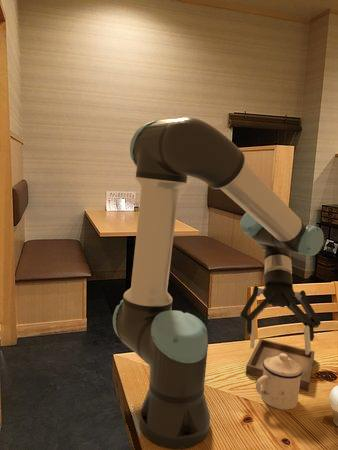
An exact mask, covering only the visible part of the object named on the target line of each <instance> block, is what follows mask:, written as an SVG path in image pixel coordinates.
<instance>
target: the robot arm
mask: <svg viewBox="0 0 338 450" xmlns="http://www.w3.org/2000/svg"><path fill="white" fill-rule="evenodd" d="M129 155H130V158H131V160H132V161H133V163H134V165H135V166H136V168H135V169H136V170H135V179H136V180H137V182H138V183H139V185H140V196H139V197H140V199H139V206H138V214H137V215H138V216H137V226H136V235H135V236H136V237H135V246H134V255H133V262H132V263H133V264H132V265H133V266H132V272H131V273H132V274H131V284H130V285H131V286H130V288H129V289H127V290H126V291H125V292H124V294H123V296H122V299H121V300H120V302H119V304H118V305H116V307H115V309H114V312H113V316H112V326H113V327H112V328H113V329H114V332H115V334H116V336H117V337H118V338H119V340H120V341H121V342H122V344H124V345H125V346H126V347H127V348H129V349H130V350H131V351H132V352H134V353H135V354H136V355H137V356H138V357H139V358H140V359H141V360H143V362H145V364H147V365H148V367H149V383H148V384H149V385H148V390H147V393H146V395H145V398H144V400H143V403H142V405H141V408H140V410H139V411H140V412H139V427H140V430H141V431H140V432H142V434H143V435H144V436H145V438H147V439H148V440H149V441H150V442H152V443H153V444H156V445H158V446H160V447H163V448H168V449H187V448H191V447H193V446H196V445H198V444H200V443H201V442H203V440H204V439H206V438H207V436H208V434H209V433H210V425H211V413H210V410H209V407H208V404H207V400H206V395H205V382H206V372H207V371H206V370H207V369H206V368H207V360H208V359H207V358H208V350H209V349H208V348H209V342H208V330H207V328H206V324H205V323H203V321H202V320H201V319H200V318H199V317H197V316H196V315H194V314H191V313H190V312H183V311H182V310H172V307H173V296H171V294H170V293H169V292H168V286H169V278H170V270H171V260H172V253H173V251H172V250H173V243H174V236H175V235H174V234H175V226H176V219H177V210H178V201H179V193H180V190H182V188H184V187H185V186H186V185H187V182H188V176H189V177H193V178H195V179H197V180H200V181H202V182H204V183H206V185H207V186H208V187H210V188H211V189H214V190H220V191H222V193H224V194H225V195H226V196H228V198H229V199H231V200H232V201H233V202H234V203H235V204H236V205H238V206H239V207H240V208H241V209H243V211H244V212H245V213H244V214H243V216H242V217H241V219H240V222H239V226H240V227H239V228H240V229H241V231H242V232H243V233H245V236H246V237H248V238H249V239H250V240H251V241H253V242H254V243H255V244H256V245H257V246H258V247H259V248H260V249H262V251H263V252H264V254H263V255H264V288H259V287H258V286H257V285H255V286H254V287H253V288H252V289H253V290H252V294H251V295H250V297H249V299H248V300H247V302H246V304H245V306H244V307H243V309H242V311H241V312H240V315H239V319H240V320H242V321H245V322H246V330H245V331H246V334H247V335H250V343H249V344H250V349H255V348H254V347H255V345H256V344H255V341H256V340H255V334H256V333H255V332H256V331H255V330H256V320H255V319H256V317H258V316H259V315H260V314H261V313H262V312H263V311H264V310H265V309H266V308H267V307H269V305H271V306H272V307H281V308H285V307H286V308H287V309H288V310H290V311H291V312H292V313H293V314H294V315H295V316H296V317H297V319H298V320H299V321H300V322H301V323H302V324H303V326H304V328H303V334H304V335H303V336H304V338H303V339H304V349H305V354H306V355H309V354H310V352H311V351H312V347H311V342H313V341H314V338H315V334H314V332H315V329H318V328H319V326H320V325H321V324H322V323H321V320H320V318H319V317H318V316H317V313H316V312H315V310H314V309H313V307H312V305H311V304H310V302H309V300H308V299H307V294H306V291H305V290H301V291H297V292H296V291H294V287H293V284H294V283H293V275H292V274H293V267H292V266H293V265H292V253H295V254H298V255H304V256H309V257H311V256H315V255H317V254H318V253H319V252H320V251H321V249H322V247H323V246H324V241H325V240H324V239H325V237H324V232H323V229H321V227H318V226H316V225H313V224H307V223H305V222H304V221H303V220H302V219H301V218H300V217H299V216H298V215H297V214H296V213H295V212H294V211H293V210H292V209H291V207H289V206H288V205H287V204H286V203H285V202H284V200H282V199H281V197H279V195H277V194H276V193H275V192H274V191H273V189H272V188H270V187H269V186H268V185H267V183H266V182H264V180H263V178H261V177H260V175H258V174H257V173H256V172H255V170H253V169H252V168H251V167H250V166H249V164H247V163H246V156H245V154H244V153H243V151H241V149H240V148H239V147H238V146H237V145H236V144H235V143H234V142H233V141H231V139H229V138H228V137H227V135H225V134H224V133H222V132H221V131H219V130H218V129H217V128H215V127H214V126H213V125H211V124H209V123H207V122H206V121H204V120H202V119H198V118H194V117H181V118H169V119H156V120H153V121H150V122H146V123H144V124H142V125H141V126H140V127H139V128H137V130H136V131H135V132H134V134H133V136H132V137H131V140H130V145H129ZM260 295H263V297H264V299H263V301H262V302H261V303H259V305H258V306H256V308H254V309H253V310H252V311H251V312H250V313H249V311H250V310H251V308H252V307H253V305H254V303H255V302H256V300H257V297H260ZM294 298H296V299H297V301H298V302H299V303H300V305H301V307H302V308H303V310H302V309H301V308H300V307H299V306H298V305H297V302H296V301H295V300H294ZM248 313H249V314H248Z"/></svg>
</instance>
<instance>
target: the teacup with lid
mask: <svg viewBox="0 0 338 450" xmlns="http://www.w3.org/2000/svg"><path fill="white" fill-rule="evenodd" d="M263 367H264V369H263V376H261V377H260V378H258V379H257V381H256V383H255V391H256V392H257V393H258V395H260V397H261V399H262V400H263V401H264V403H266V404H267V405H268V406H270V407H272V408H275V409H278V410H283V411H284V410H287V411H289V410H291V409H294V408H296V407H297V405H298V403H299V394H300V389H299V387H300V379H301V374H302V367H301V365H300V364H299V363H298V362H297V361H295V360H293V359H291V358H289V357H288V355H287V354H285V353H281V354H280V355H273V356H269V357H267V358H266V359H265V360H264V362H263Z"/></svg>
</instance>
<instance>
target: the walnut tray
mask: <svg viewBox="0 0 338 450" xmlns="http://www.w3.org/2000/svg"><path fill="white" fill-rule="evenodd" d="M315 352H316V351H313V350H311V352H310V354H309V355H306V354H305V348H302V347H297V346H293V345H289V344H284V343H281V342H277V341H273V340H267V339H264V338H260V339H259V340H258V342H257V344H256V346H255V348H254V350H253V352H252V354H251V356H250V358H249V359H248V362H247V364H246V366H245V367H246V368H245V375H248V376H252V377H255V378H258V379H259V378H260V377H261V376H263V369H264V367H263V362H264V360H265V359H266V358H267V357H269V356H273V355H280V354H281V353H285V354H287V355H288V357H289V358H291V359H293V360H295V361H297V362H298V363H299V364H300V365H301V367H302V374H301V379H300V387H299V390H301V391H305V392H309V389H310V382H311V378H312V371H313V365H314V360H315Z"/></svg>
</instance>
